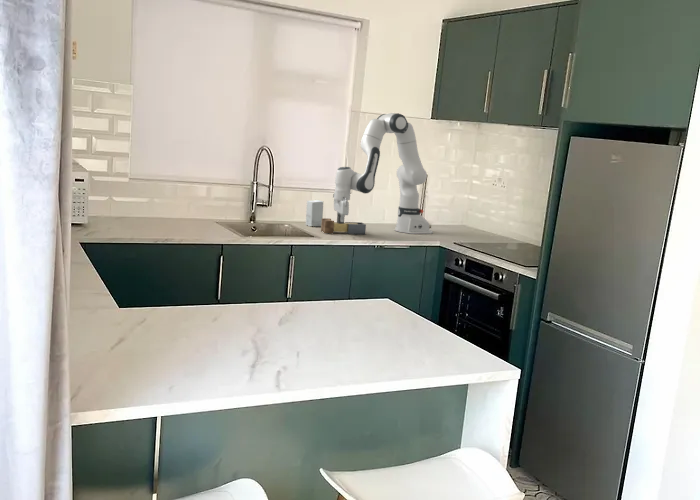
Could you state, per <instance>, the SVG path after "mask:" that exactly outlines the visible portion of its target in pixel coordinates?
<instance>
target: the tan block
mask: <svg viewBox="0 0 700 500" xmlns="http://www.w3.org/2000/svg"><path fill="white" fill-rule="evenodd" d="M336 216H337V217H336V222H335V221H334V231H333V233H334V232H336V233H337V232H338V233H340V232H341V233H346V232H348V224H357V223H345V221H344V222H340V218H341V215H339V214H337V213H336Z"/></svg>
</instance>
